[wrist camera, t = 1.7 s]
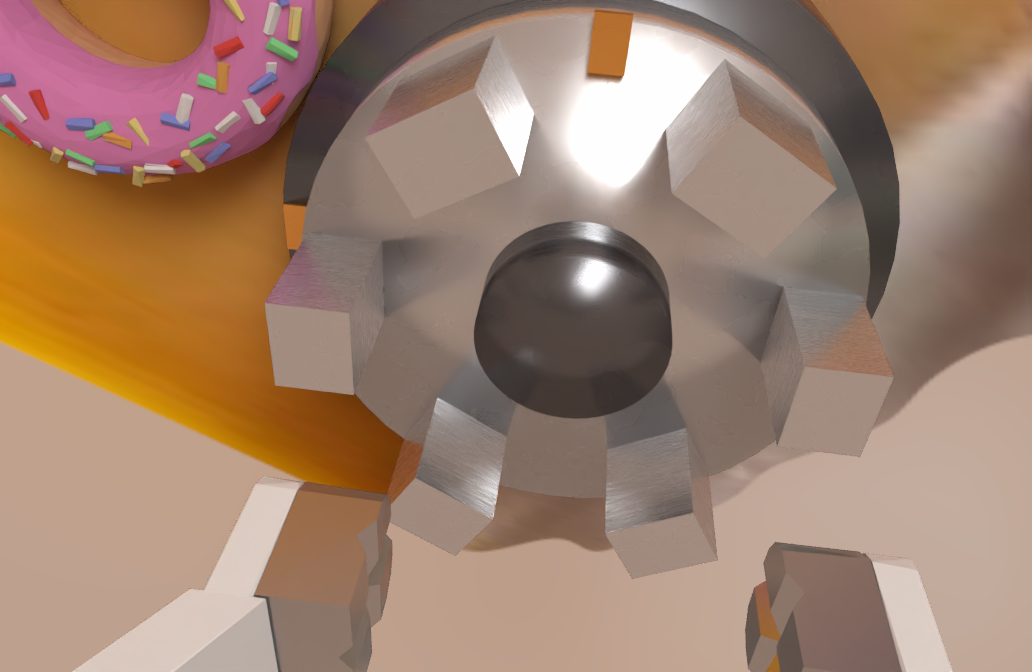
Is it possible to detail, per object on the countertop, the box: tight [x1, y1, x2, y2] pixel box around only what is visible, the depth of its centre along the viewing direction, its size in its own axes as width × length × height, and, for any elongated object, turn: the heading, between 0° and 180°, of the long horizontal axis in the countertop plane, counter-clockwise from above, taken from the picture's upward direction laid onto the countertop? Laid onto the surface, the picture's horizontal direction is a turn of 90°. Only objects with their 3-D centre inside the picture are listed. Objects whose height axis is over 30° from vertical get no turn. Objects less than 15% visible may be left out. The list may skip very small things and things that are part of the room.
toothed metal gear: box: [265, 0, 894, 579], centre depth 27 cm, size 18×18×6 cm
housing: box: [283, 0, 900, 319], centre depth 32 cm, size 21×21×4 cm
